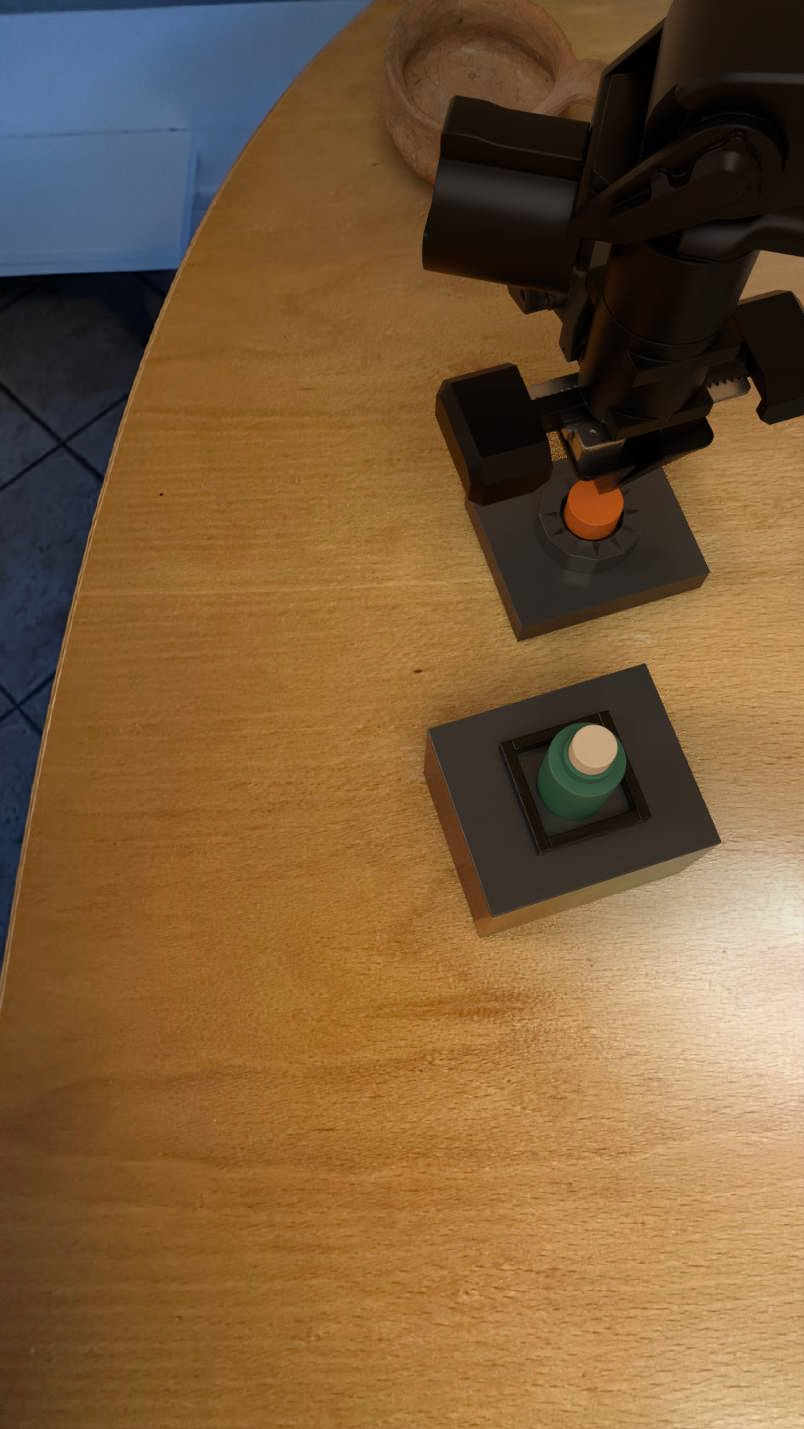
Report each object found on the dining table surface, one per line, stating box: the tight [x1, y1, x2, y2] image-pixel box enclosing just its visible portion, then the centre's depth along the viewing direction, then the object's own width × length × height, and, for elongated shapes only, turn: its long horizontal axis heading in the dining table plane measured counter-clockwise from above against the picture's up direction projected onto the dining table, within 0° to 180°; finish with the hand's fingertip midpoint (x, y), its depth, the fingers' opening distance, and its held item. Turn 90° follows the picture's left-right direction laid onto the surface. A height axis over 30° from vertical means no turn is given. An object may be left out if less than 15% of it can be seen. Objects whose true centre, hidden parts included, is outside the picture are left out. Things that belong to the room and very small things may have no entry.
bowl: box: [381, 0, 609, 186], centre depth 72 cm, size 18×14×10 cm
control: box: [464, 457, 711, 643], centre depth 64 cm, size 12×10×4 cm
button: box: [564, 480, 624, 540], centre depth 62 cm, size 3×3×2 cm
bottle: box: [536, 722, 626, 820], centre depth 50 cm, size 4×4×6 cm
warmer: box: [423, 662, 722, 939], centre depth 56 cm, size 12×10×9 cm
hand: (602, 485), depth 59 cm, fingers closed
